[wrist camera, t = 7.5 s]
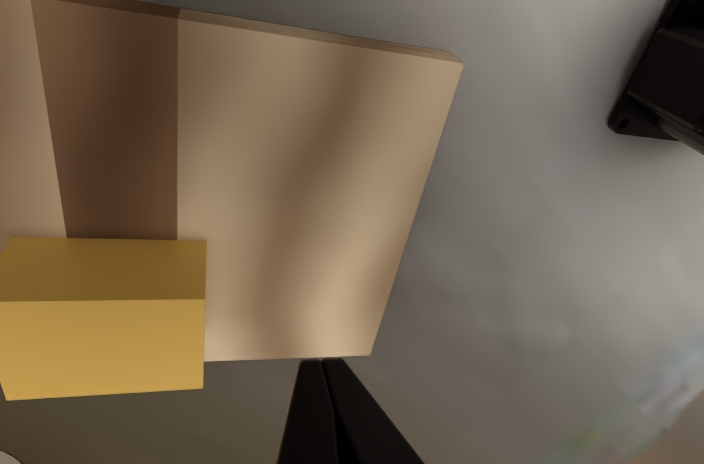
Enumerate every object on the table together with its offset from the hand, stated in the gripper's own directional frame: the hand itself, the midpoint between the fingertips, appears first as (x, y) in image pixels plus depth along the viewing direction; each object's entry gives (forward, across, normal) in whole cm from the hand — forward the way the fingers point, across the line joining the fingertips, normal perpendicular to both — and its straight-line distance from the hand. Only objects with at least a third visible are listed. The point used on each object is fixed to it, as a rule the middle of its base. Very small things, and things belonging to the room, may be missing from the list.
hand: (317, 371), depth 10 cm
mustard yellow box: (+11, +6, +7) cm, 14 cm away
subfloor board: (+12, +3, +4) cm, 13 cm away
